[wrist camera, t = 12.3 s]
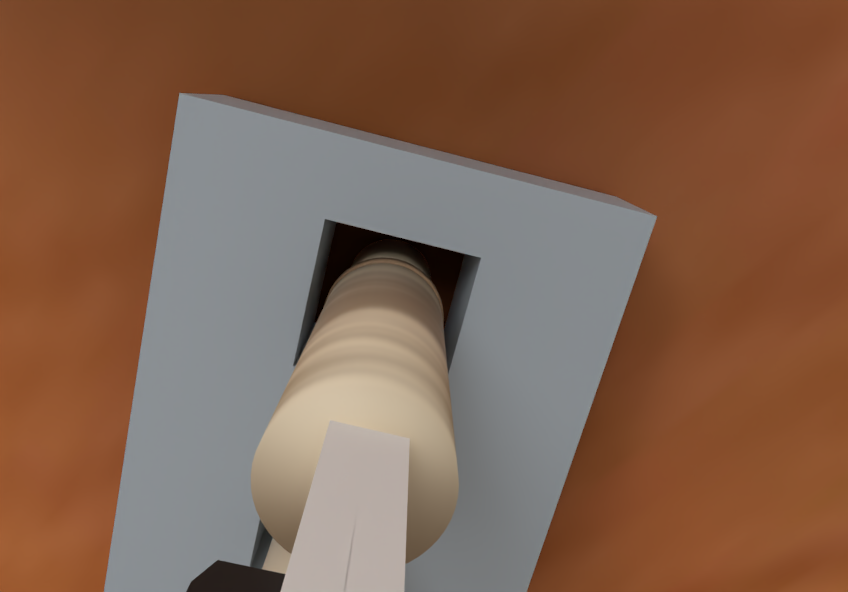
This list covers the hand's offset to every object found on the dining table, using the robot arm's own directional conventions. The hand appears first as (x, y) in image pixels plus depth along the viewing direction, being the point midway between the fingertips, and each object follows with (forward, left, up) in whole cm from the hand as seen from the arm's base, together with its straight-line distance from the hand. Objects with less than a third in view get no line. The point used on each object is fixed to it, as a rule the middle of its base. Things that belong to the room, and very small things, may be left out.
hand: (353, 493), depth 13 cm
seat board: (+4, 0, -16) cm, 17 cm away
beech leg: (0, 0, -16) cm, 16 cm away
